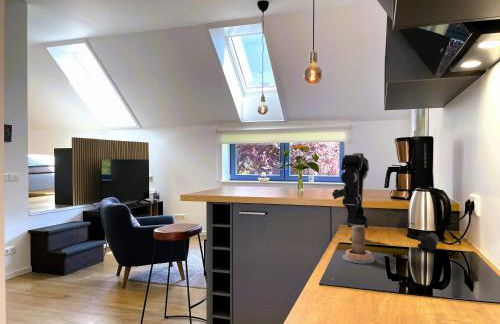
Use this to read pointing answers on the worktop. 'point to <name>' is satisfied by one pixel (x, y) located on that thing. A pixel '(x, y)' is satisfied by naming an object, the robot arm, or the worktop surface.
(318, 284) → the worktop surface
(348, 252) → the collar
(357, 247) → the walnut peg
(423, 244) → the end cap
